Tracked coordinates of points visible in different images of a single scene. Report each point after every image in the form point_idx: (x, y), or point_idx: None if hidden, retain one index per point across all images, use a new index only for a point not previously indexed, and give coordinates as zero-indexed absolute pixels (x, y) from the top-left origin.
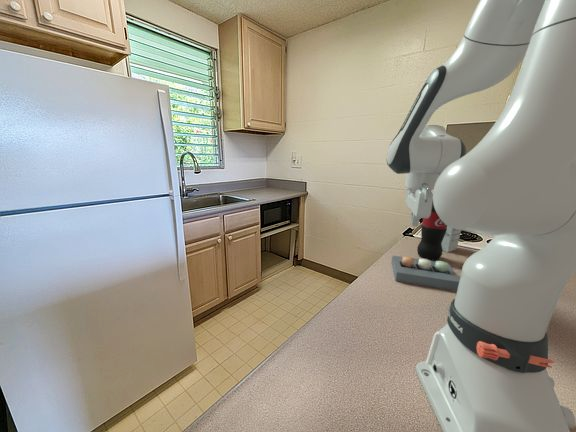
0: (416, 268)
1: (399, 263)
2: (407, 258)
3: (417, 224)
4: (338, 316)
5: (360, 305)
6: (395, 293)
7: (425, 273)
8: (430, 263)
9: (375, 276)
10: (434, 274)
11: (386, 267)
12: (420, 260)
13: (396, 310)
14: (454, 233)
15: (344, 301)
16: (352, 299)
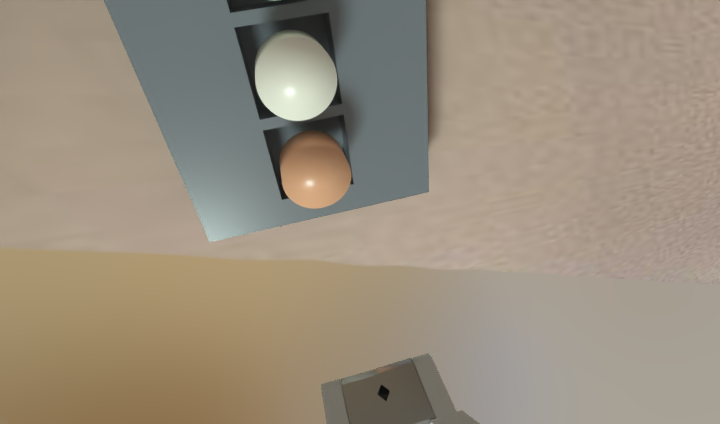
0: (334, 110)
1: None
2: (320, 183)
3: (436, 373)
4: (642, 252)
5: (596, 228)
6: (513, 157)
7: (381, 60)
8: (315, 42)
9: (406, 238)
10: (371, 5)
11: None
12: (310, 110)
13: (611, 141)
14: None
15: (583, 262)
16: (571, 251)
